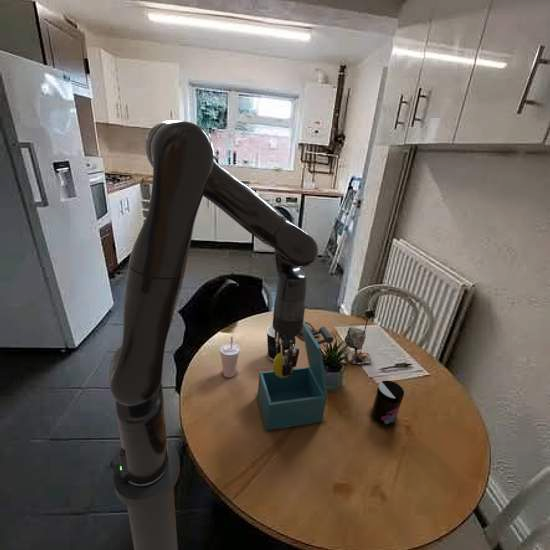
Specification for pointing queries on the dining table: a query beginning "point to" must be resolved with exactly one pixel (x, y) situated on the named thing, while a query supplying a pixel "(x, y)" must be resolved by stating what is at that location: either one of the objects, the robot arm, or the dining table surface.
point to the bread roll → (309, 329)
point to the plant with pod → (358, 342)
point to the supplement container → (387, 402)
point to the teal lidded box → (290, 398)
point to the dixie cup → (271, 343)
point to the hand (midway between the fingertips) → (282, 366)
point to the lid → (316, 353)
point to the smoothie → (229, 358)
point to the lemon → (279, 366)
